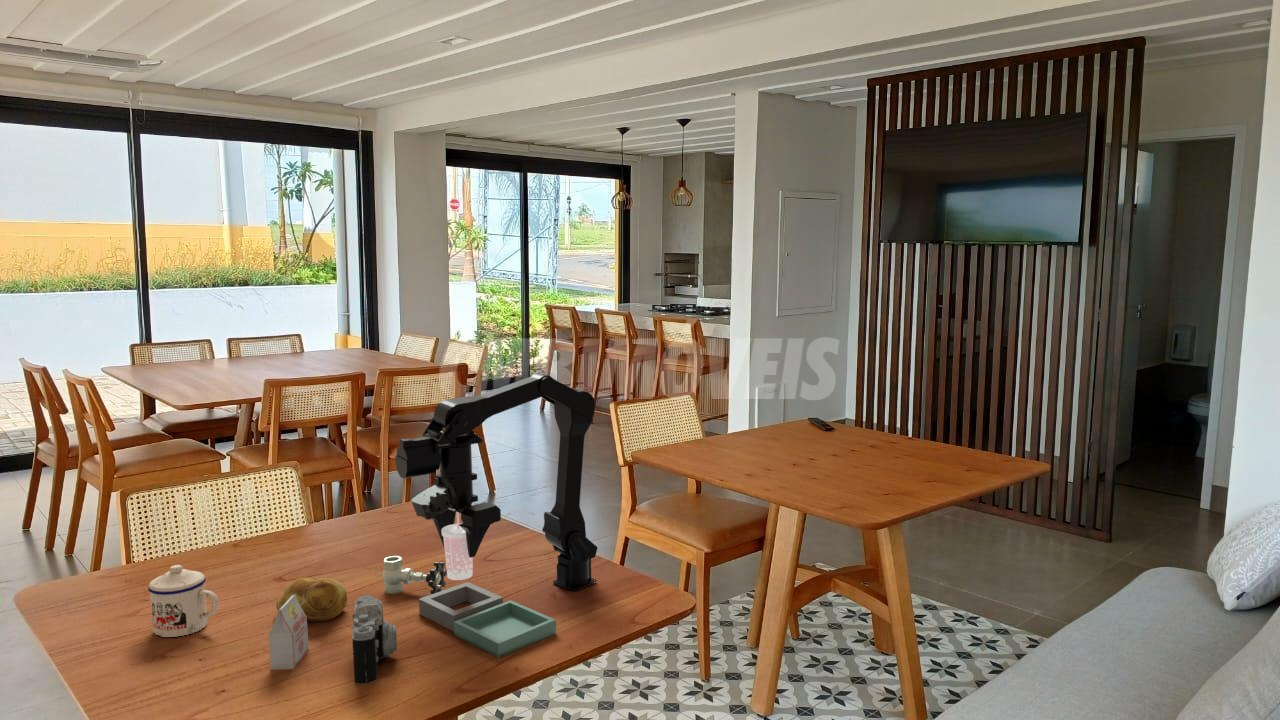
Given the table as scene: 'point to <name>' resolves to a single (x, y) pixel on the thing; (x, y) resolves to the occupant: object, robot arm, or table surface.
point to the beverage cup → (457, 552)
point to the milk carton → (288, 636)
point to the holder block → (440, 602)
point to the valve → (410, 576)
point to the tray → (504, 628)
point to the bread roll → (316, 598)
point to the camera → (370, 638)
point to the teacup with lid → (180, 602)
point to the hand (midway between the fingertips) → (459, 551)
